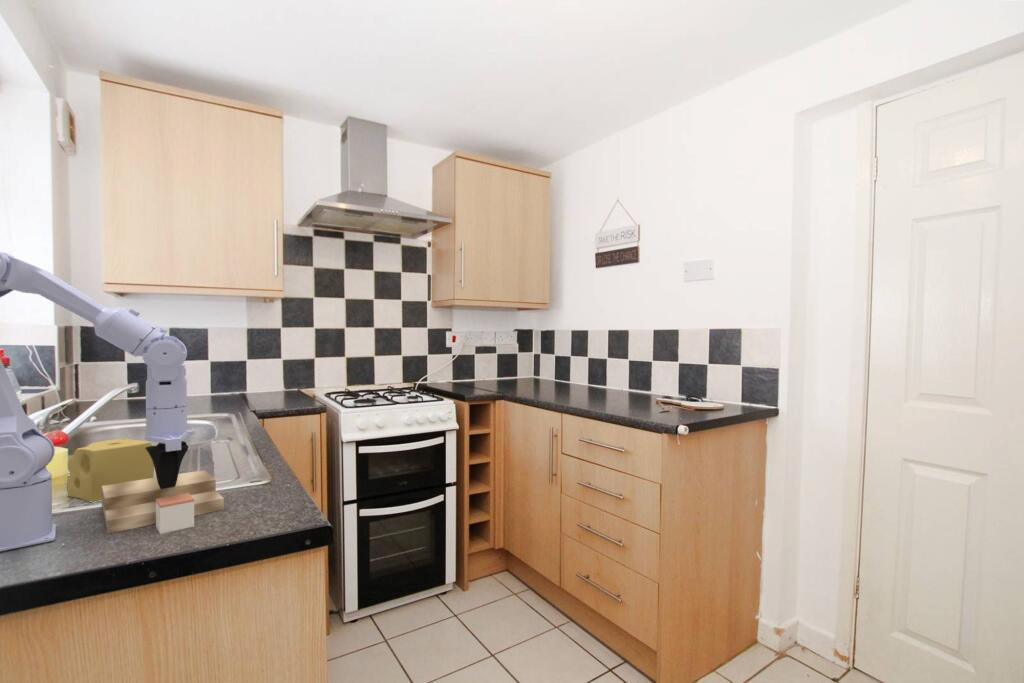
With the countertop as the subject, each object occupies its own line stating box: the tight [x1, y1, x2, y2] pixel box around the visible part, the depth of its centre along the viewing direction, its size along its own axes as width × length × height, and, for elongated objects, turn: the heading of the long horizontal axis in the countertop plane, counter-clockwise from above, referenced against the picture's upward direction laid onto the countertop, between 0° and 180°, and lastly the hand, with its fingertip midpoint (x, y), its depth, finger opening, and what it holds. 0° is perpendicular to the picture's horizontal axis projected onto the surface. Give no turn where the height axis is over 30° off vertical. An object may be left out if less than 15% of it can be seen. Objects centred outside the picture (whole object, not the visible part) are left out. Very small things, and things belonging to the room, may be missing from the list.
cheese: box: [66, 437, 155, 503], centre depth 99 cm, size 10×11×10 cm
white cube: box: [155, 493, 195, 535], centre depth 80 cm, size 4×4×4 cm
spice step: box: [101, 469, 225, 534], centre depth 88 cm, size 16×16×4 cm
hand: (167, 487), depth 84 cm, fingers closed
